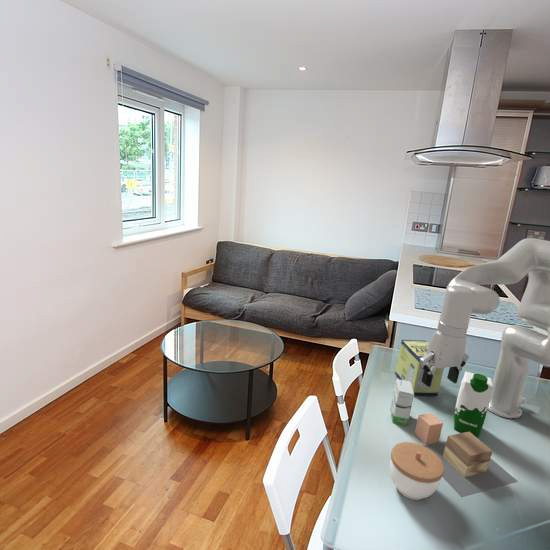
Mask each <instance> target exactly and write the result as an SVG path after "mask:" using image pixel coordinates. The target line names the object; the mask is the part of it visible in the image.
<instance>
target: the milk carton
mask: <svg viewBox="0 0 550 550" xmlns="http://www.w3.org/2000/svg"><path fill="white" fill-rule="evenodd" d="M463 374H464V375H463V377H462V380H461V382H460V387H459V391H458V394H457V398H456V403H455V406H454V413H453V414H454V416H453V421H454V422H453V430H454V431H458V432H460V433H465V432H470V433H472V434H473V435H474V436H475V437H477V438H479V436H480V434H481V431H482V429H483V426H484V424H485V419H486V418H487V417H486V416H487V413H488V411H489V410H488V407H489V403H490V399H491V395H492V392H493V387H492V382H493V380H492V378H491V377H488V376H485V375H483V374H481V373H473V372H469V371H464V373H463Z"/></svg>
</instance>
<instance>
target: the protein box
mask: <svg viewBox="0 0 550 550" xmlns="http://www.w3.org/2000/svg"><path fill="white" fill-rule="evenodd" d="M429 343H430V342H428V341H427V340H423V339H422V340H421V339H420V340H419V339H418V340H417V339H414V340H413V339H401V342H400V347H399V353H398V357H397V362H396V369H395V372H394V375H395V374H396V375H397V376H396V375H395V376H396V377H397V379H398V378H399V379H400V380H405V381H409V382H411V385H412V388H413V392H414V397H415V396H416V397H418V396H420V397H423V396H424V397H426V396H430V397H431V396H432V397H438V395H439V391H440V386H441V382H442V379H443V374H444V369H445V368H436V369H435V371H434V372H433V373H432V374H433V378H432V383H431V386H430V387H428V386H426V385H425V384H424V383H423V382H422V376H423V372H424V370H423V369H422V367H421V366H420V365H421V364H420V358H421V357H423V356H425V355H426V352H427V349H428V346H429ZM432 363H433V364H434V362H432ZM431 367H432V365H430V366H429V369H430V368H431Z"/></svg>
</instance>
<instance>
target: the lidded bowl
mask: <svg viewBox="0 0 550 550" xmlns="http://www.w3.org/2000/svg"><path fill="white" fill-rule="evenodd" d="M424 446H425V445H421V444H419V443H417V442H416V443H415V442H412V441H411V442H409V441H403V442H398V443H396V444H395V445H394V446H393V447H392V449H391V451H390V459H389V461H390V462H389V473H390V477H391V481H392V483H393V484H394V486H395V488H396V489H397V491H398V492H399V493H400V494H401V495H403V496H404V497H406V498H408V499H410V500H414V501H419V500H422V499H426V498H429V497H430V496H433V494H434V493H436V491H437V490H438V487H439V485H440V483H441V481H442V478H443V477H442V476H443V473H444V466H443V463H442V461H441V459H440V458H439V457H438V456H437V455H436V454H435V453H434V452H433V451H431V450H430V449H428V448H426V447H424Z"/></svg>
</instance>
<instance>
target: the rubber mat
mask: <svg viewBox="0 0 550 550" xmlns="http://www.w3.org/2000/svg"><path fill="white" fill-rule="evenodd" d="M446 442H447V440H445V441H440V442H434V443H429V444H425V445H423V446H424V447H426V448H428V449H430V450H431V451H433V452H434V453H435V454H436V455H437V456H438V457H439V458H440V459H441V461H442V463H443V466H444V473H443V476H442V478H443V480H445V481H446V482H447V484H448V485H449V486H450V487H451V488H452V489H453V490H454V491H456V493H457V494H458V495H459V496H460V497H461V498H463V497H467V496H470V495H471V496H472V495H474V494H478V493H482V492H484V491H485V492H486V491H488V490H492V489H495V488H499V487H503V486H504V487H505V486H507V485H512V484H514V483H518V482H519V481H518V480H517V479H516V478H515V477H513V476H512V475H511V474H510V473H509V472H508V471H507V470H506V469H504V468H503V467H502V466H501V465H500V464H498V463H497V462H496V461H495V460H494V459H492V458H490V461H489V464H488V468H487V471H486V472H483V473H479V474H475V475H471V476H467V477H464V476H463V475H461V474H460V473H459V472H458V471H457V470H456V469H455V468H454V467H453V466H452V465H451V464H450V463H449V462H448V461H447V460H446V459H445V458H444V457H443V453H444V449H445V445H446Z"/></svg>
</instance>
